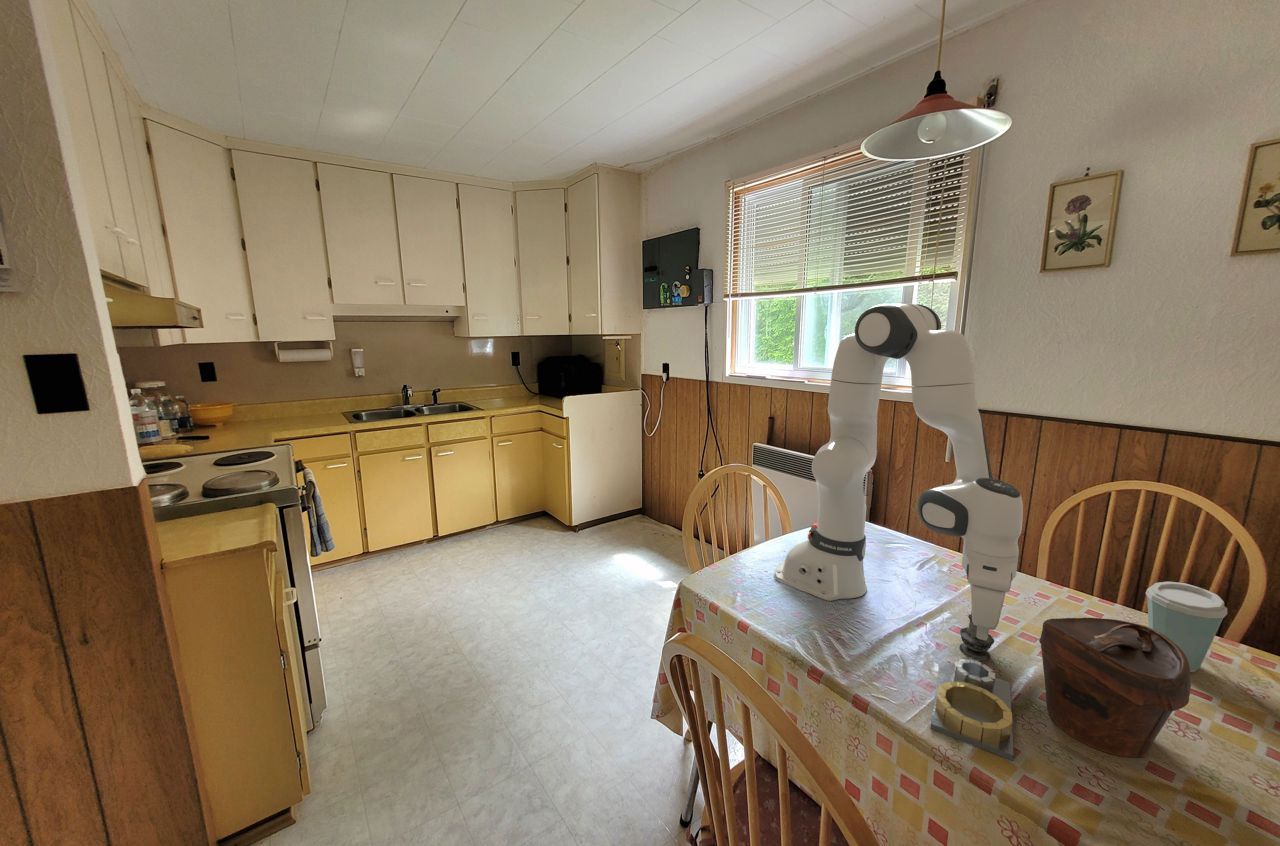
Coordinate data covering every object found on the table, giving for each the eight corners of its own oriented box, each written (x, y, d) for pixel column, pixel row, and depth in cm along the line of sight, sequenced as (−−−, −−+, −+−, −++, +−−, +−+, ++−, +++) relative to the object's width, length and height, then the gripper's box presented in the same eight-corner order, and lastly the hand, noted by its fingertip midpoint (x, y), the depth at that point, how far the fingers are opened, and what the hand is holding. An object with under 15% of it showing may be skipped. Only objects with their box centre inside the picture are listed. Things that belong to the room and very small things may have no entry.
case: (1169, 717, 84) (1188, 621, 81) (1184, 801, 70) (1209, 689, 66) (1035, 671, 96) (1047, 586, 92) (1025, 735, 81) (1038, 637, 78)
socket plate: (930, 728, 82) (932, 710, 82) (939, 664, 98) (941, 648, 97) (1012, 760, 76) (1015, 741, 75) (1009, 687, 91) (1011, 670, 91)
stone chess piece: (997, 662, 98) (1006, 608, 96) (964, 659, 99) (972, 604, 97) (983, 644, 104) (991, 592, 101) (952, 641, 105) (959, 589, 102)
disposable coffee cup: (1188, 685, 91) (1206, 612, 88) (1120, 649, 102) (1133, 582, 99) (1226, 674, 94) (1244, 602, 91) (1155, 640, 104) (1170, 574, 101)
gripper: (970, 539, 107) (964, 597, 110) (968, 579, 91) (961, 646, 93) (1007, 545, 104) (999, 606, 106) (1011, 588, 87) (1002, 658, 90)
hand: (981, 625), depth 100 cm, fingers open, 8 cm apart
